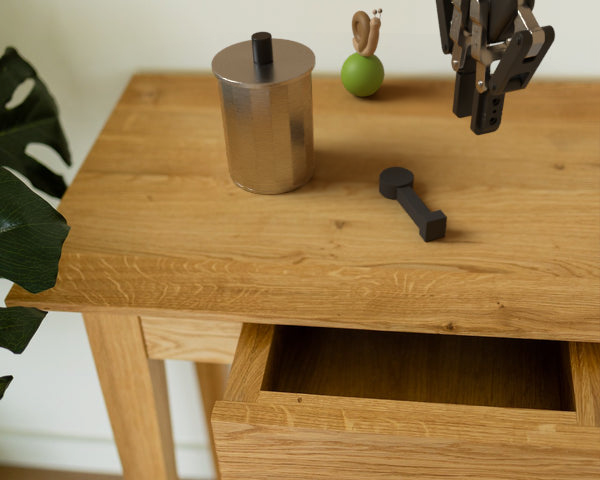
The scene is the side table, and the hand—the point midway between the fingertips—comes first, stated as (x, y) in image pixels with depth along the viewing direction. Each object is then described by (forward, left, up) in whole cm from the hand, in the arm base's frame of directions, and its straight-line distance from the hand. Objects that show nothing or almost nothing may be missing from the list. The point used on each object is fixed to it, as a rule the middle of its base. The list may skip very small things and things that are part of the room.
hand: (474, 121), depth 61 cm
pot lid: (+11, -22, -3) cm, 25 cm away
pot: (+11, -22, -15) cm, 29 cm away
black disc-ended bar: (0, -10, -15) cm, 18 cm away
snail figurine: (-5, -34, -15) cm, 38 cm away
